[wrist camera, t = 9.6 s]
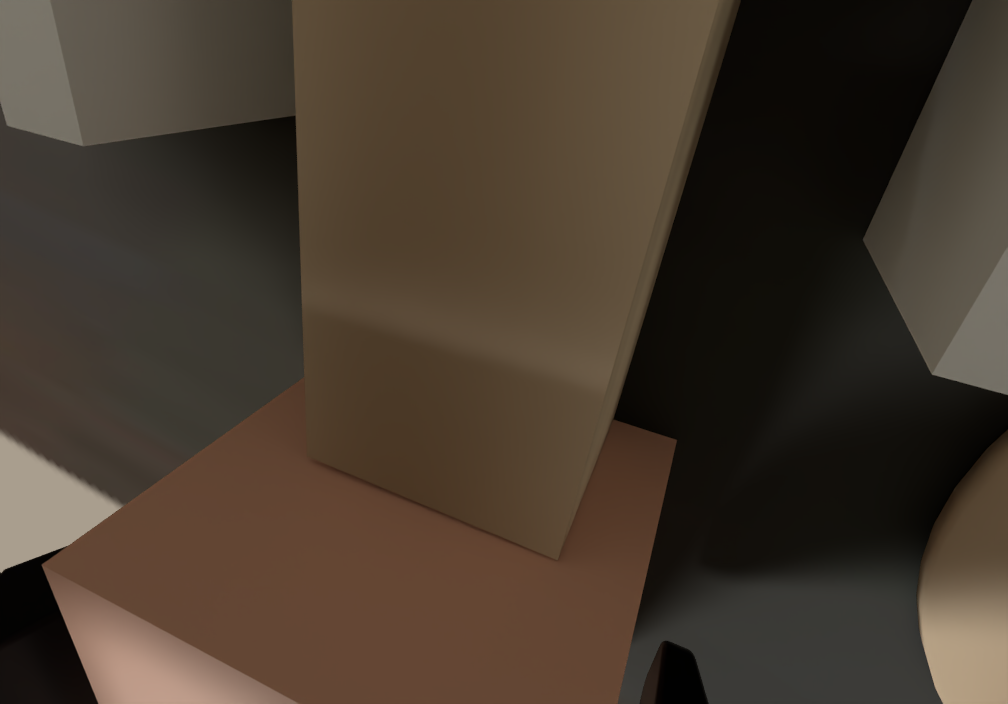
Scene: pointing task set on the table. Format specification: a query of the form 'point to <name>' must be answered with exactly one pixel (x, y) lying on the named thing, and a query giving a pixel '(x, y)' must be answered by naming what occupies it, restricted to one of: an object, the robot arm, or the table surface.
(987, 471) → the coaster
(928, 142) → the channel
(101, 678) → the block
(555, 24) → the bar
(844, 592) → the table surface
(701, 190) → the table surface
